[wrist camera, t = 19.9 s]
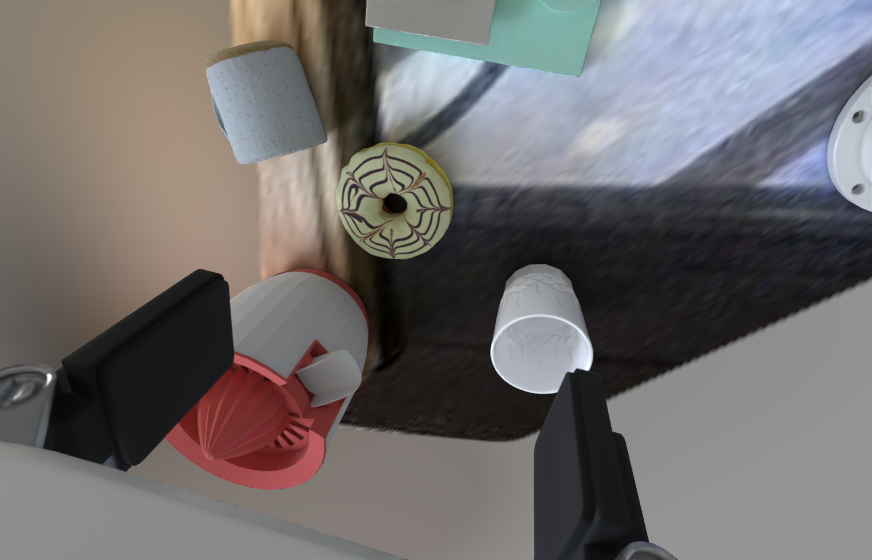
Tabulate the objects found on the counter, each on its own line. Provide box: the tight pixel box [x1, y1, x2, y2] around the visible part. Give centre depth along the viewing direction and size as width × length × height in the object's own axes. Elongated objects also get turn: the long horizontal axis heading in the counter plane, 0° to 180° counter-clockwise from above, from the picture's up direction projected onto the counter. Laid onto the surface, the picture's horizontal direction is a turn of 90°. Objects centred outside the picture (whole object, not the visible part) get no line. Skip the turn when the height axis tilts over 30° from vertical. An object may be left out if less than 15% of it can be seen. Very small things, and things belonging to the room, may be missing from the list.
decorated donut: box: [336, 142, 453, 259], centre depth 39 cm, size 10×11×4 cm
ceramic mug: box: [206, 40, 327, 165], centre depth 35 cm, size 11×8×8 cm
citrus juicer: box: [165, 269, 369, 490], centre depth 40 cm, size 16×17×20 cm
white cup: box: [491, 264, 593, 394], centre depth 38 cm, size 8×8×10 cm
